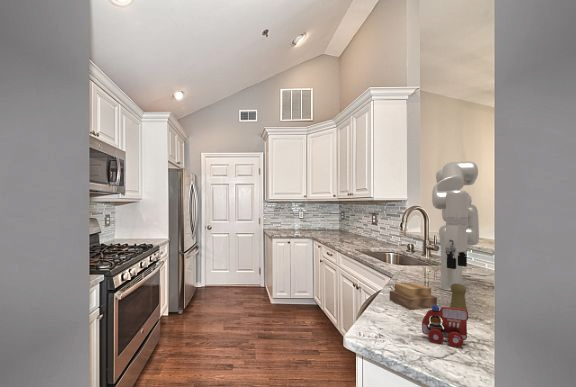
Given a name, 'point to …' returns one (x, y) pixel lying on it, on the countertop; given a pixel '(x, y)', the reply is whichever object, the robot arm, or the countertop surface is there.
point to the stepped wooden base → (413, 296)
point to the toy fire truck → (446, 325)
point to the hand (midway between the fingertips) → (456, 267)
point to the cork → (458, 296)
